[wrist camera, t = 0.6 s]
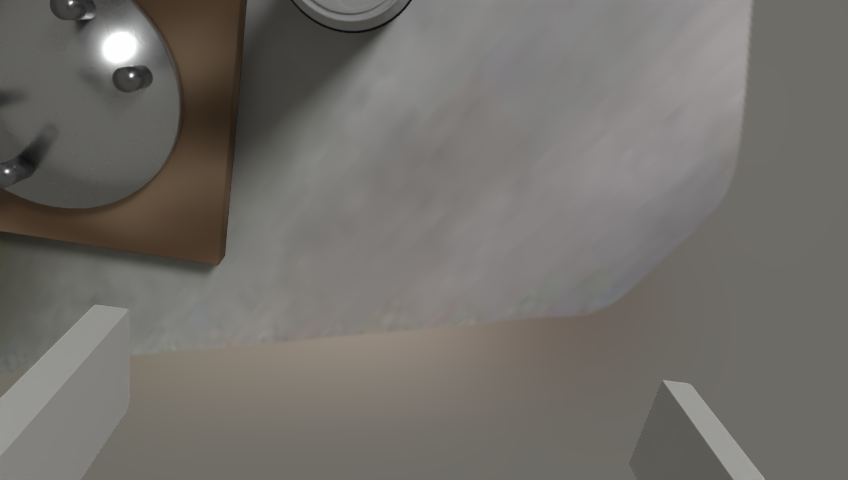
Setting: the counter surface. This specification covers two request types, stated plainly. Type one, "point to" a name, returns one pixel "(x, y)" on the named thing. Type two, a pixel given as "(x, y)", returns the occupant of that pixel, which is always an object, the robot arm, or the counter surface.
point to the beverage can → (352, 13)
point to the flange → (84, 100)
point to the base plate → (191, 161)
